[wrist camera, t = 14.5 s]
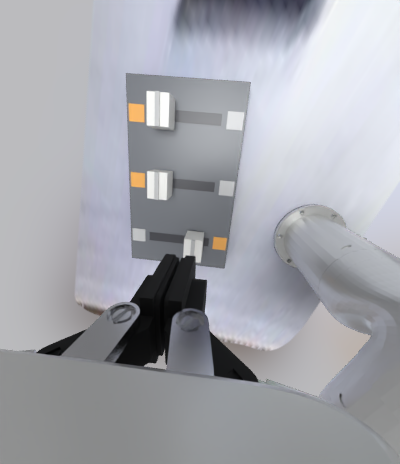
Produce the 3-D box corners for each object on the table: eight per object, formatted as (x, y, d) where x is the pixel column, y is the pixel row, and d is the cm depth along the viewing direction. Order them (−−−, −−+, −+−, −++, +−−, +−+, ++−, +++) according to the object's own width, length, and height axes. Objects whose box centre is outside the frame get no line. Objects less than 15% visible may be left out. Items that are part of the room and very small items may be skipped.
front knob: (175, 100, 31) (168, 91, 26) (174, 130, 32) (167, 126, 28) (155, 98, 31) (145, 90, 27) (155, 128, 32) (145, 125, 28)
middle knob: (172, 171, 34) (166, 173, 30) (172, 195, 36) (166, 200, 31) (154, 169, 34) (146, 171, 30) (154, 193, 36) (146, 198, 32)
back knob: (204, 232, 37) (202, 241, 33) (202, 252, 39) (200, 264, 35) (187, 230, 37) (183, 239, 33) (186, 250, 39) (182, 262, 35)
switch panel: (247, 88, 32) (250, 81, 29) (224, 260, 43) (224, 268, 40) (133, 80, 33) (125, 73, 30) (137, 251, 44) (131, 257, 41)
